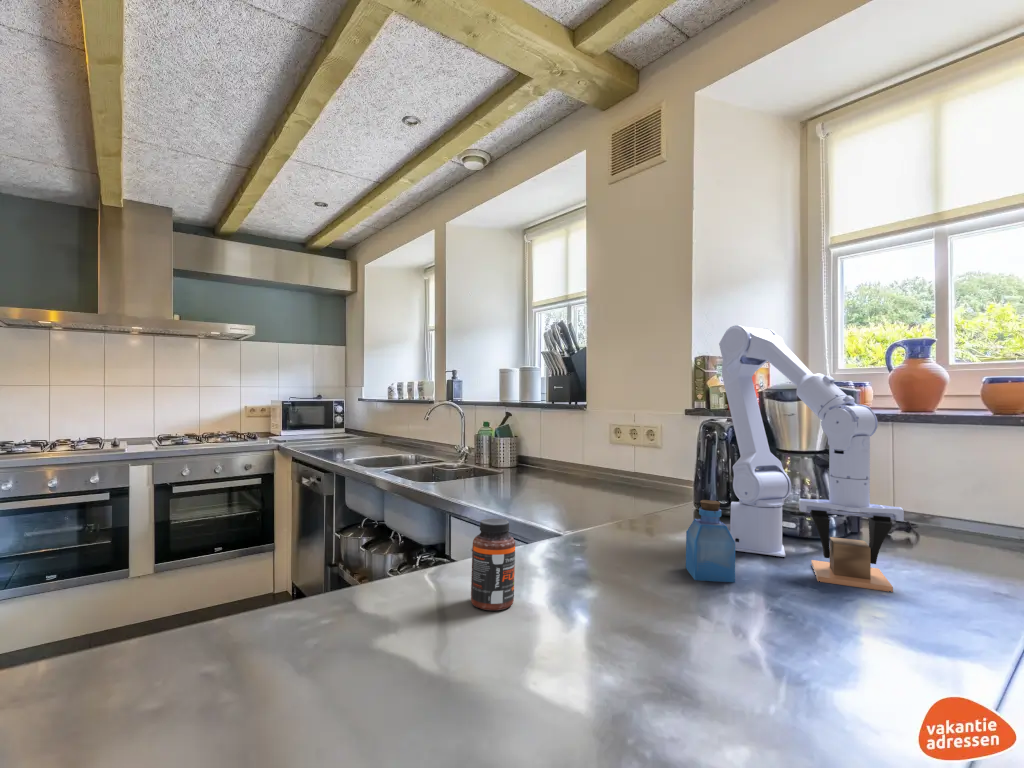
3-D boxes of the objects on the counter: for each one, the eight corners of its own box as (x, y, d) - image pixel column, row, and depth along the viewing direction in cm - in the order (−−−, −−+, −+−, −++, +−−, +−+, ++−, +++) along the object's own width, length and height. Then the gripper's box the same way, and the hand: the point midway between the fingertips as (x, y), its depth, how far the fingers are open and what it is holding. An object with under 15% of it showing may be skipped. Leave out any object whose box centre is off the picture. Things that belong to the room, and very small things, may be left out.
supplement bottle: (509, 614, 69) (511, 527, 69) (465, 610, 70) (467, 524, 70) (517, 598, 74) (519, 517, 75) (477, 594, 76) (479, 515, 76)
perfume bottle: (723, 570, 89) (723, 499, 90) (734, 582, 83) (735, 506, 84) (685, 568, 90) (686, 497, 90) (694, 580, 84) (695, 504, 84)
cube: (833, 574, 86) (834, 543, 86) (829, 566, 90) (829, 536, 90) (870, 579, 84) (870, 548, 84) (864, 570, 88) (864, 540, 88)
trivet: (817, 581, 85) (817, 576, 85) (811, 564, 94) (811, 559, 94) (892, 592, 80) (892, 586, 80) (878, 573, 89) (878, 568, 90)
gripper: (801, 476, 87) (801, 559, 87) (908, 484, 81) (909, 573, 80) (798, 471, 93) (797, 548, 93) (897, 478, 87) (897, 560, 87)
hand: (849, 559), depth 87 cm, fingers open, 6 cm apart
